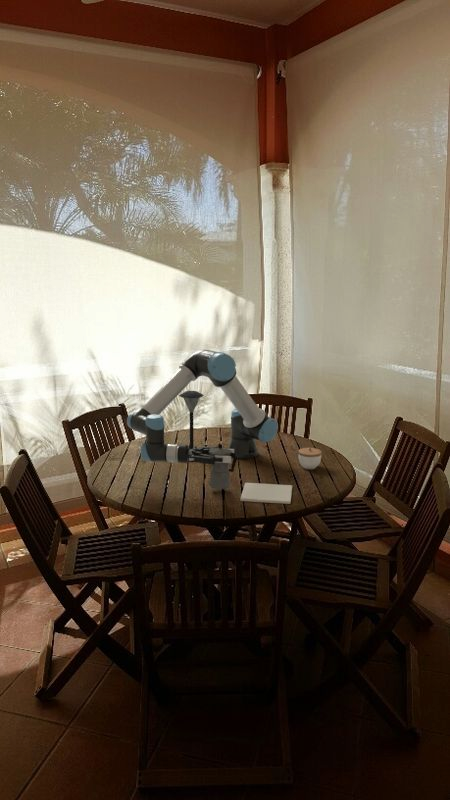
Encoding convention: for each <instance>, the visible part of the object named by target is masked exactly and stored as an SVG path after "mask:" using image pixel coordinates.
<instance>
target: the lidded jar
mask: <svg viewBox="0 0 450 800" xmlns="http://www.w3.org/2000/svg"><path fill="white" fill-rule="evenodd" d="M322 453H323V452H322V450H320V449H318V448H315V447H303V448H299V450H298V461H299V463H300V465H301V466H302V468H303V469H306V470H314V469H316V468H317V467H318V466H319V465H320V464H321V461H322V460H321V459H322Z"/></svg>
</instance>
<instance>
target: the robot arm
mask: <svg viewBox="0 0 450 800" xmlns="http://www.w3.org/2000/svg"><path fill="white" fill-rule="evenodd" d="M236 367H237V365H236V362H235V360H234V358H233V357H232V356H231V355H229V354H227V353H225V352H223V351H222V352H221V351H214V350H210V349H200V350H196V351H195V352H194V353H192V354H191V355H189V356H188V357H187V358H186V359H185V360H183V361H182V363H180V364H179V366H178V370H177V371H176V372H175V373H174V374H173V375H172V376H171V377H170V378H169V379H168V380H167V381H166V382H165V383H164V385H162V387H160V389H159V390H158V391H157V392H156V393H155V394H154V395H153V396H152V397H151V398H150V399H149V400H148V401H147V402H146V403H145V404H144V405H143V406H142V407H141V408H140V410H138V411H137V412H136V411H134V412H131V413H129V414H128V416H127V418H126V424H127V426H128V427H129V428H130V429H131V430H133V431H134V432H138V433H140V434H142V435H145V438H146V441H145V442H143V443H142V445H141V448H140V457H141V459H142V461H145V462H151V463H152V462H156V463H157V462H158V463H159V462H161V463H163V462H165V463H171V464H174V463H180V464H181V463H182V464H187V463H198V464H204V465H206V464H207V465H211V464H212V465H214V464H215V462H219V463H230V464H232V457H231V456H218V455H215V456H210V455H209V450H208V449H209V448H219V446H218V445H217V446H194V447H193V449H190V445H188V444H176V443H175V444H174V443H165V420H164V419H165V418H164V416H163V415H161V414H162V413H163V412H164V411H165V410H166V408H167V407H168V406H169V405H170V404H171V403H172V402H173V401H174V400H175V399H176V398H177V397H178V396H179V395H180V394H182V392H183V390H184V389H186V388H187V386H188V385H189V384H190V383H191V382H195V381H196V380H197V379H198V378H200V377H202V376H203V377H206V378H208V379H209V380H210V382H211V383H212V384H213V385H214V386H215V387H216V388H220V389H221V390H222V391H223V394H224V395H225V396H226V397H227V398H228V400H229V401H230V403H231V404H232V406H233V407H234V409H233V410H231V413H230V441H229V444H228V446H227V448H228V449H230V450H231V452H232V453H235V455H236V456H237V459H245V460H246V459H253V458H255V457H257V456H258V453H259V448H258V447H257V443H256V440H258V441H259V442H261V443H263V442H264V443H269V442H271V441H273V440H274V439H275V438H276V436H277V433H278V429H279V424H278V422H277V421H278V420H276V419H274V417H273V418H272V417H270V416H269V415H268V414H267V412H266V411H265V410H264V409H263V408H259V407H258V405H257V403H256V402H255V400H254V399H252V396H251V395H250V394H249V393H248V390H246V388H245V386H243V384H242V382H240V380H239V379H238V377H237V369H236Z"/></svg>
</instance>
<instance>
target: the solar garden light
mask: <svg viewBox="0 0 450 800" xmlns="http://www.w3.org/2000/svg"><path fill="white" fill-rule="evenodd" d="M178 396H179V397H180V398H183V401H184V403H185V404H186V407H187V409H188V412H189V449H193V448H194V412H195V410H196V407H197V405H198V403H199V401H200V399H201V398H203V397H204V396H205V395H204V394H203V393H201V392H199V391H198V390H197V391H196V390H186V391H184V392H181V393H180V394H179V395H178Z"/></svg>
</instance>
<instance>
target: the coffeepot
mask: <svg viewBox="0 0 450 800" xmlns="http://www.w3.org/2000/svg"><path fill="white" fill-rule="evenodd" d="M217 446H219V448H209V449H208V450H209V455H210V456H215V455H218V456H231V458H232V461H231V463H219V462H215V464H214V465H212V464H210V467H211V472H210V476H209V481H208V482H209V483H208V486H209V487H210V488H211V489H215V490H225V489H228V488H230V487H231V485H232V481H231V475H230V473H233V472H234V470H235V467H236V464H237V461H238V458H237V456H236V455H235V453H232V452H231V450H230V449H228V447H227V448H226V447H223V444H222V443H218V445H217ZM230 464H231V465H230ZM230 466H231V467H230ZM229 467H230V468H229Z"/></svg>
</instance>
